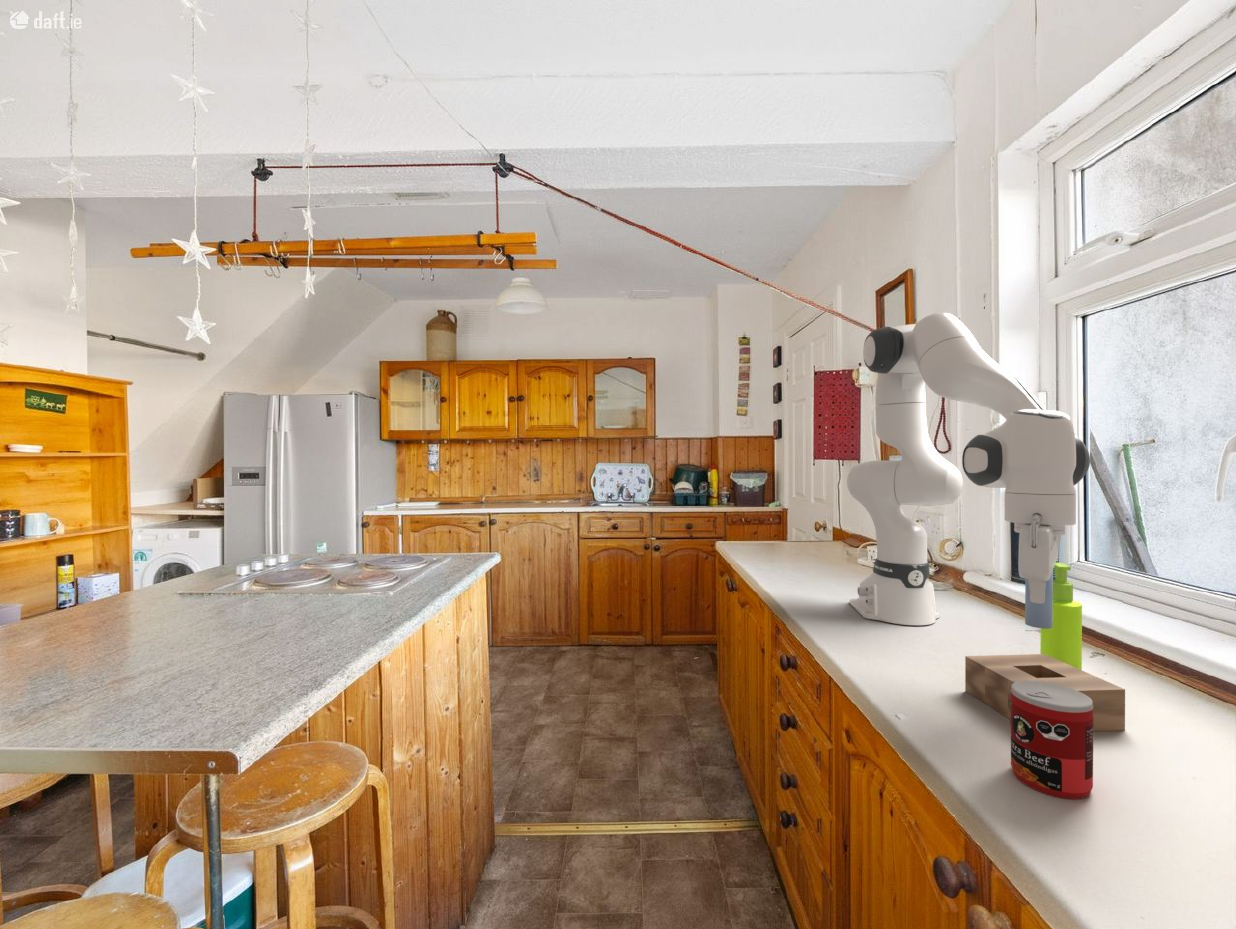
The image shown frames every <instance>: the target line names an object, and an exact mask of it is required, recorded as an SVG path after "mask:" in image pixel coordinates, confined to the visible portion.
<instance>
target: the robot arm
mask: <svg viewBox="0 0 1236 929" xmlns="http://www.w3.org/2000/svg"><path fill="white" fill-rule="evenodd" d="M965 325H966V324H964V323H963V322H962V321H961V320H960V319H958V318H957V317H956V316H955V315H953V314H952V313H948V312H935V313H930V314H928V315H926V316H925V317H923V318H921V319H920V320H919V321H918V322H916V323H911V324H910V323H909V324H902V325H897V326H896V325H895V326H892V327H890V326H884V327H878V328H876V329H873V330H872V331H871V332H870V333H868V335H867V336H866V338H865V340H864V344H863V350H862V353H863V354H862V355H863V356H862V357H863V361H864V365H865V367H867V369H868V370H869V371H870V372H873V373H876V374H877V380H876V383H875V384H876V386H875V387H876V388H875V397H874V400H875V404H874V405H875V406H874V407H875V434H876V436H877V437H878V439H879V440H880V441H881V442H882V443H884V444H886V445H888V446H890V447H893V448H895V449H896V450H897V451H898V452H899V454H900V456H901V460H871V461H870V460H869V461H864V462H860V463H859V462H858V463H856V464H854V465H853V467H851V469H850V470H849V472H848V474H847V478H846V486H847V490H848V491H849V493H850V495H851V497H852V498H853V499H854V500H856V501H857V502H859V503H860V504H861V505H862V506H863V507H864V508H865V509H866V511H867V512H868V514H869V516H870V518H871V520H872V522H873V525H874V530H875V535H876V558H873V559H872V561H874V562H872V564H873V568H872V573H871V574H870V575H869V576H867V577H866V578H864V580H862V581H861V582H860V583H859V586H858V587H857V595H858V597H854V598H851V599H849V604H850V606H852V607H853V608H854V609H855V610H856V611H857V612H858V613H859V614H860V615H861V616H862V617H863V618H864V619H869V620H875V621H880V622H881V621H882V622H886V623H891V624H896V625H903V626H928V625H932V624H934V623H936V619H939V618H940V617H941V614H940V612H938V611H936V600H935V599H936V598H935V589H934V585H933V583H932V582H931V581H930V580H929V578H930V574H931V567H930V562H929V561H928V533H927V531H926V529H925V528H924V526H923V525H922V524H920V523H918V522H917V521H915V520H913V519H911V518H909V517H908V516H907V515H906V514H905V513H904V511H903V509H902V506H905V505H906V506H919V507H921V506H922V507H934V506H943V505H950V504H953V503H955V502H956V500H958V498H959V497H960V496H961V495H962V492H963V488H964V479H963V476H962V473H961V471H960V470H959V469H958V467H957V466H956V465H955V464H953V463H951V462H950V461H948V459H946V458H944V457H943V456H942V455H941V454H940V453H939V452H938V451H937V449H936V447H935V446H934V444H933V442H932V440H931V438H930V435H929V427H928V419H927V395H926V386H927V387H928V388H929V389H930V390H931V391H932V392H933V393H935V394H936V395H937V396H939V397H941V398H943V399H948V400H951V401H957V402H962V403H968V404H973V405H977V406H981V407H984V408H986V409H987V408H988V409H989V410H991V411H994V412H996V413H998V414H1000V415H1001V416H1002V417H1003V418H1004V419H1005V421H1004V422H1003V423H1002V424H1001V425H999V426H998V427H996V428H994V429H992V430H990V431H988V432H986V433H983V434H977V435H976V436H974V437H973V438H972V439H971V440H969V442H968V443H967V444H966V445H965V446H964V449H963V452H962V457H961V459H962V460H961V464H962V469H963V472H964V474H965V475H966V477H967V478H968V480H970V482H972V483H973V484H974V485H976V486H979V487H980V486H981V487H985V488H994V489H995V488H996V489H997V488H999V489H1000V488H1001V489H1005V490H1004V521H1005V522H1007V523H1013V524H1014V525H1013V526H1014V528H1013V531H1014V532H1015V533H1018V534H1019V536H1018V563H1017V564H1018V568H1017V571H1018V575H1019V577H1020V578H1021V579H1024V580H1025V579H1028V583H1029V589H1030V601H1031V602H1033V603H1039V604H1043V603H1044V602H1045V587H1046V581H1048V580H1049V579H1050V577H1051V574H1052V571H1053V572H1054V569H1055V568H1054V566H1055V563H1057V560H1058V557H1059V556H1058V555H1059V550H1060V544H1061V539H1062V538H1061V537H1062V536H1064V535H1066V526H1074V525H1076V524H1077V490H1076V488H1075V486H1076V485H1077V484H1078V483H1079V482H1080V481H1081V480H1082V479H1083V478H1084V477H1085V475H1086V474H1087V472H1088V471H1089V468H1090V465H1091V456H1090V453H1089V450H1088V448H1087V446H1086V444H1085V443H1084V442H1083V440H1082V439H1080V437H1078V435H1077V434H1075V429H1074V425H1073V422H1072V419H1071V417H1070V416H1069V414H1067V413H1065V412H1062V411H1059V410H1054V409H1053V410H1052V409H1047V408H1046V406H1045V405H1044V404H1043V403H1042V402H1041V401H1040V400H1039V399H1038V397H1037V396H1036V395H1035V393H1033V391H1031V389H1030V388H1029V387H1028V386H1027V385H1026V384H1025V383H1024V382H1023V381H1022V380H1021V379H1020V378H1019V377H1018V376H1017V375H1015V374H1014V373H1012V372H1011V371H1009V370H1007V369H1006V368H1004V367H1002V366H1001V365H1000V364H999V363H997V362H996V361H995V360H994V359H993V358H991V357H990V356H989V355H988V354H987V352H985V351H984V350H983V349H982V347H981V346H980V345H979V342H978V341H977V339H976V338H975V337H974V335H973V334H972V333H971V331H970V330H969V329H968V327H967V326H965Z"/></svg>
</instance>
